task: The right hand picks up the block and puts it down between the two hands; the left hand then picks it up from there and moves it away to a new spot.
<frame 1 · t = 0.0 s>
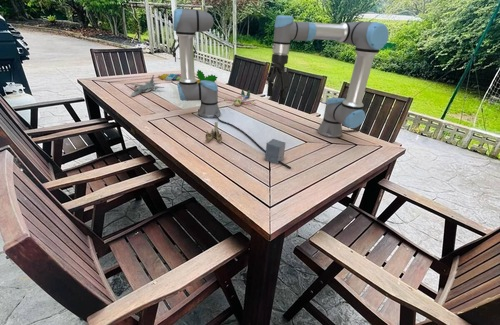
left hand: (184, 61, 211), 28 cm above the table, tool pointing down, fingers open, 13 cm apart
right hand: (275, 99, 130), 28 cm above the table, tool pointing down, fingers open, 13 cm apart
airplane: (145, 91, 230), on the table
ornament: (206, 87, 255), on the table
toy: (241, 101, 221), on the table
block: (274, 159, 134), on the table
jawbone: (214, 139, 151), on the table
sign: (172, 78, 282), on the table
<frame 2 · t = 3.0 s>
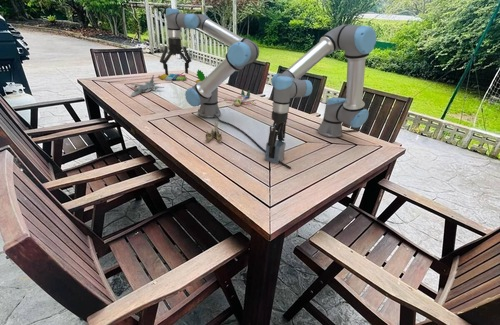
left hand: (176, 74, 169), 28 cm above the table, tool pointing down, fingers open, 13 cm apart
right hand: (274, 154, 133), 3 cm above the table, tool pointing down, fingers closed on block, 7 cm apart
block: (274, 159, 134), on the table, touching right hand
everything else where it was.
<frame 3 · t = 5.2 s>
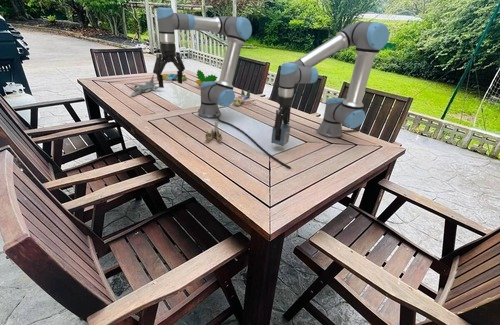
left hand: (171, 85, 143), 28 cm above the table, tool pointing down, fingers open, 13 cm apart
right hand: (280, 137, 142), 7 cm above the table, tool pointing down, fingers closed on block, 7 cm apart
block: (279, 142, 143), point 4 cm above the table, touching right hand
everything else where it was.
when the right hand's fingers open (5 cm above the table, at t = 7.5 s): block drops 2 cm, on the table.
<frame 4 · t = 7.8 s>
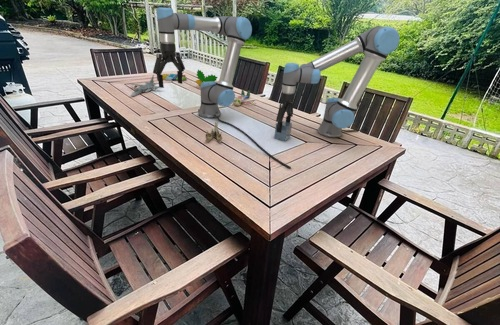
left hand: (171, 85, 143), 28 cm above the table, tool pointing down, fingers open, 13 cm apart
right hand: (283, 129, 156), 6 cm above the table, tool pointing down, fingers open, 11 cm apart
block: (282, 138, 159), on the table
everything else where it was.
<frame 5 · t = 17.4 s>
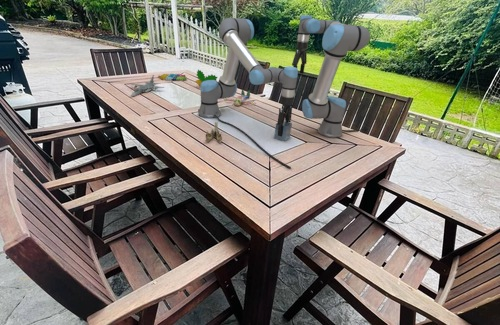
left hand: (282, 133, 158), 3 cm above the table, tool pointing down, fingers closed on block, 7 cm apart
right hand: (297, 74, 184), 30 cm above the table, tool pointing down, fingers open, 13 cm apart
block: (282, 138, 159), on the table, touching left hand
everything else where it was.
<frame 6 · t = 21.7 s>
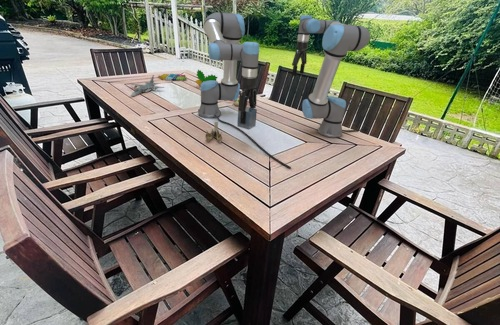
left hand: (246, 121, 138), 15 cm above the table, tool pointing down, fingers closed on block, 7 cm apart
right hand: (297, 74, 184), 30 cm above the table, tool pointing down, fingers open, 13 cm apart
block: (246, 126, 140), point 12 cm above the table, touching left hand
everything else where it was.
when the left hand's fingers open (5 cm above the table, at t = 26.2 s): block drops 2 cm, on the table.
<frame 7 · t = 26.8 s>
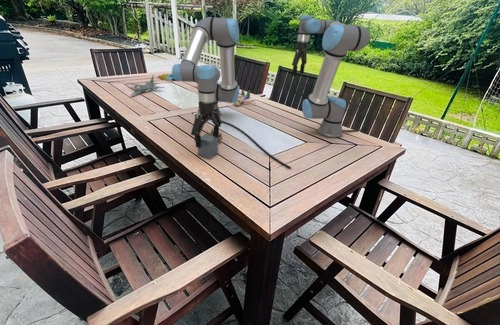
left hand: (207, 142, 131), 7 cm above the table, tool pointing down, fingers open, 13 cm apart
right hand: (297, 74, 184), 30 cm above the table, tool pointing down, fingers open, 13 cm apart
block: (207, 154, 134), on the table
everything else where it was.
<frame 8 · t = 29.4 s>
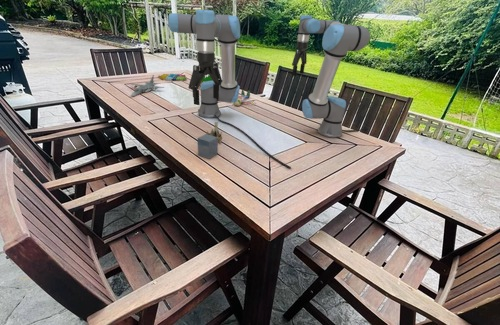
left hand: (206, 101, 121), 28 cm above the table, tool pointing down, fingers open, 13 cm apart
right hand: (297, 74, 184), 30 cm above the table, tool pointing down, fingers open, 13 cm apart
nothing on the table moved.
at the end: block inside the target area (0.1 cm from its centre), on the table; block tilted 0°; the two hands never held the block at the same time; the left hand is holding nothing; the right hand is holding nothing; block at rest at the end (0.0 cm/s) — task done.
